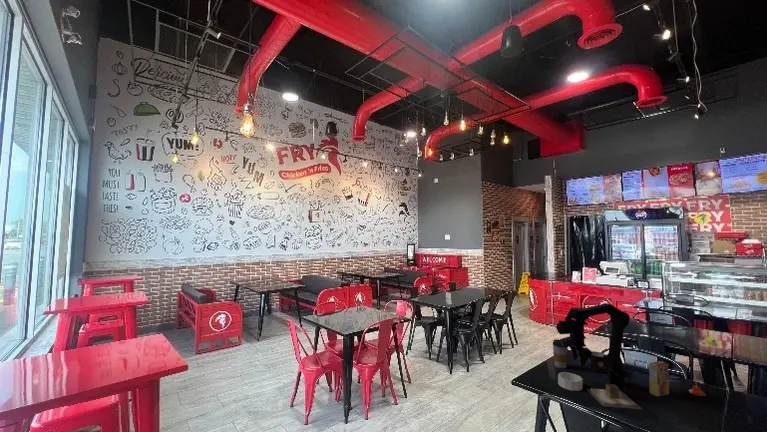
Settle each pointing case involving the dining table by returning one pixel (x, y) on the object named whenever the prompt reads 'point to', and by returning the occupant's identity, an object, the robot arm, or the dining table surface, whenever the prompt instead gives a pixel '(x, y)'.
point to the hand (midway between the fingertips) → (578, 363)
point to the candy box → (659, 378)
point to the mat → (612, 405)
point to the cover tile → (611, 400)
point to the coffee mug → (597, 362)
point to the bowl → (570, 381)
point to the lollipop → (696, 389)
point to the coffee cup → (559, 354)
